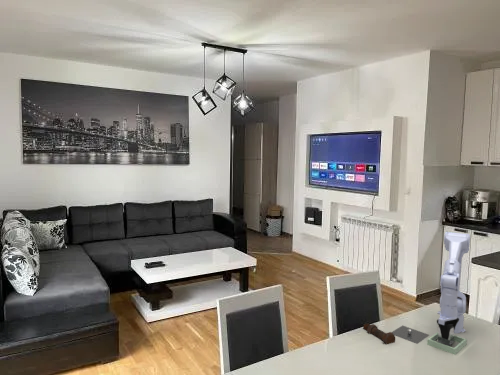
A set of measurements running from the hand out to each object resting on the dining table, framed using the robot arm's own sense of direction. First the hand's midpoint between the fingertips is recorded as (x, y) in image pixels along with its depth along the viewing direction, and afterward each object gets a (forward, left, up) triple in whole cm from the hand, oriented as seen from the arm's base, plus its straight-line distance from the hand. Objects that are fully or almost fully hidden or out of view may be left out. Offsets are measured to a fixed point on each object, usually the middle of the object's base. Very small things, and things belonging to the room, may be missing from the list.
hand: (447, 336), depth 148 cm
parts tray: (0, 0, -4) cm, 4 cm away
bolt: (+15, -22, -5) cm, 27 cm away
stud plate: (+3, -14, -4) cm, 15 cm away
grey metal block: (0, 0, -2) cm, 3 cm away
